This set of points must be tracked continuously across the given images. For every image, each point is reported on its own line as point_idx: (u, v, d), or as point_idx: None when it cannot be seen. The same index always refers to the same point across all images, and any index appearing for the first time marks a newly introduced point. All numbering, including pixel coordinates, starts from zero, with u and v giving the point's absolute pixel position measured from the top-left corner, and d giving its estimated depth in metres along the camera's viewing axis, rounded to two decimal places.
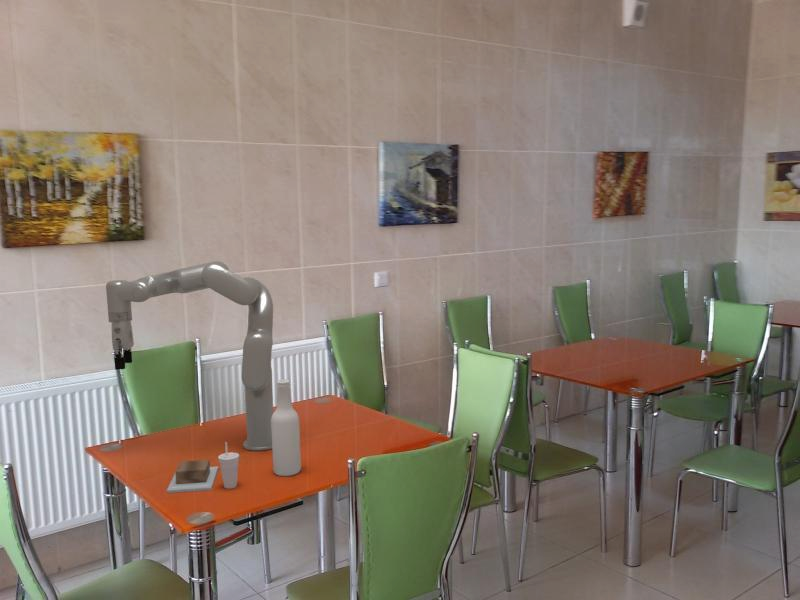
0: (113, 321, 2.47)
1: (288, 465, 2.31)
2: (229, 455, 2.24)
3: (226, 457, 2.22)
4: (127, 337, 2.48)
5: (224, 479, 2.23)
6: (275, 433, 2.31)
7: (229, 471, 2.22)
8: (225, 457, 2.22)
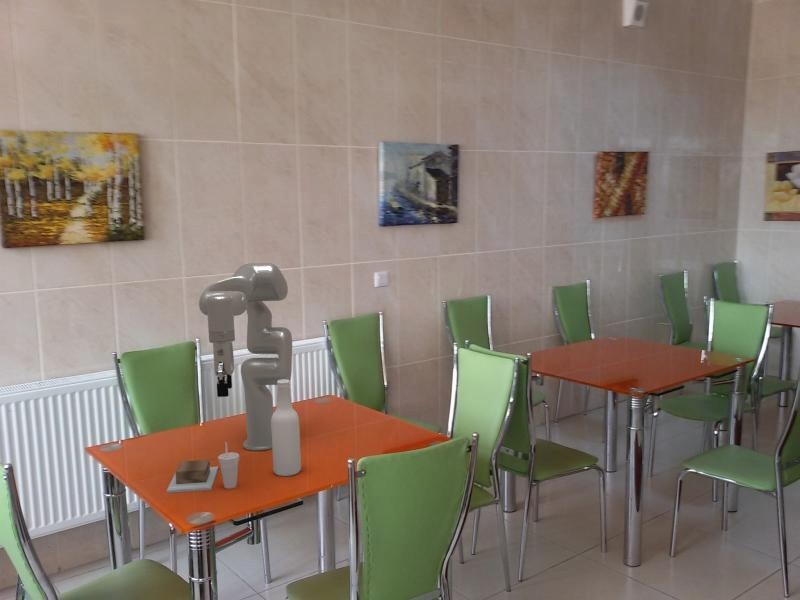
0: (215, 341, 2.15)
1: (288, 465, 2.31)
2: (229, 455, 2.24)
3: (226, 457, 2.22)
4: (231, 360, 2.17)
5: (224, 479, 2.23)
6: (275, 433, 2.31)
7: (229, 471, 2.22)
8: (225, 457, 2.22)
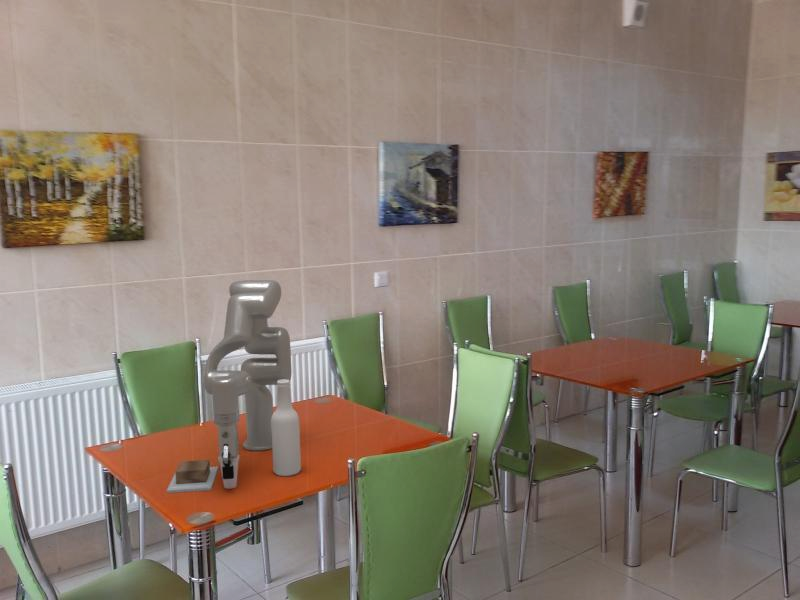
0: (220, 424, 2.19)
1: (288, 465, 2.31)
2: (229, 455, 2.24)
3: None
4: (235, 442, 2.20)
5: (224, 479, 2.23)
6: (275, 433, 2.31)
7: None
8: None
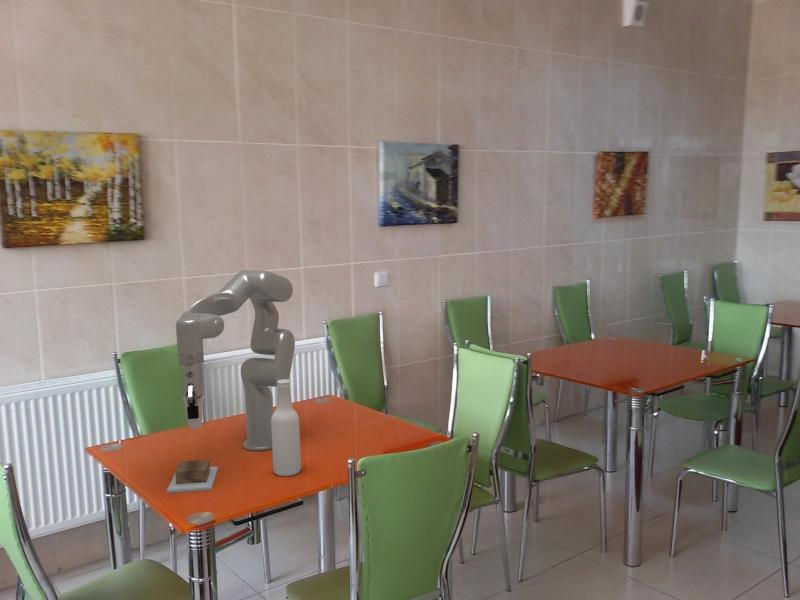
0: (184, 364, 2.21)
1: (288, 465, 2.31)
2: None
3: None
4: (200, 382, 2.22)
5: (189, 419, 2.25)
6: (275, 433, 2.31)
7: None
8: None
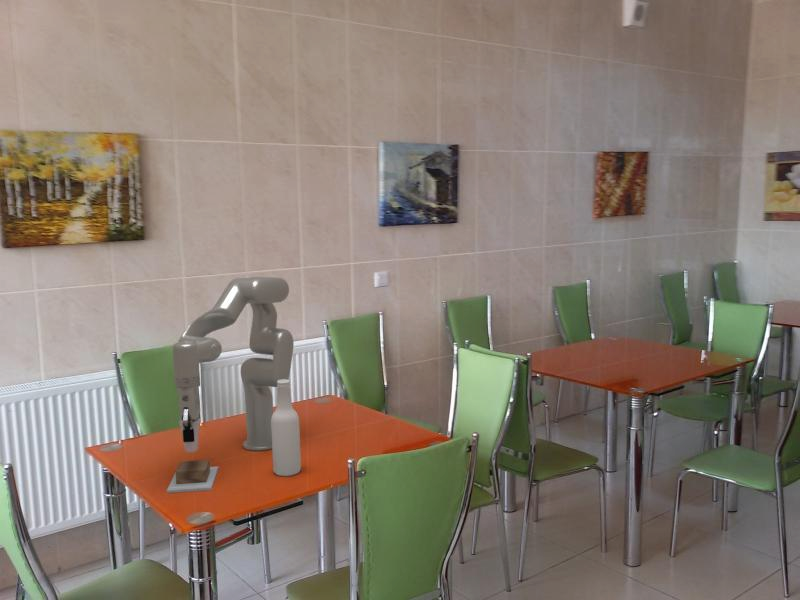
0: (181, 388, 2.23)
1: (288, 465, 2.31)
2: None
3: None
4: (196, 405, 2.24)
5: (185, 442, 2.27)
6: (275, 433, 2.31)
7: None
8: None
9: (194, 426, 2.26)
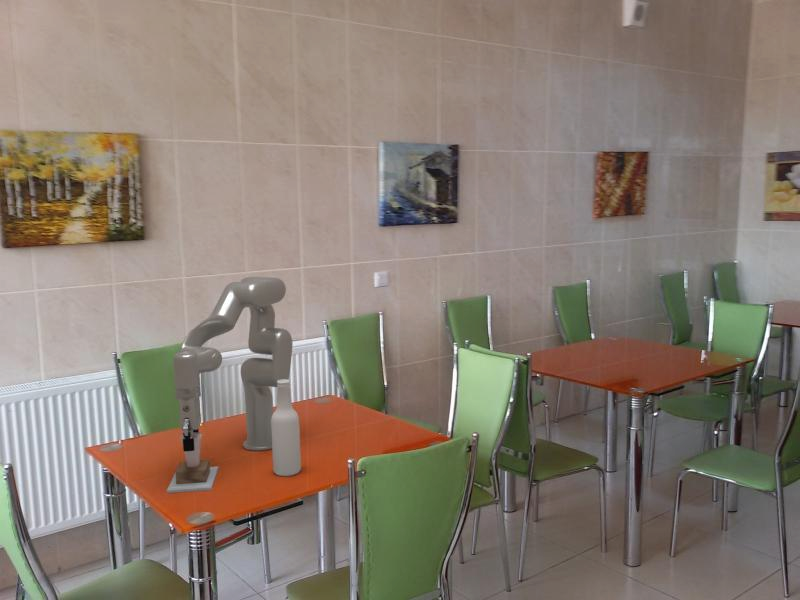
0: (181, 398, 2.23)
1: (288, 465, 2.31)
2: None
3: None
4: (196, 416, 2.25)
5: (187, 458, 2.28)
6: (275, 433, 2.31)
7: None
8: None
9: (196, 441, 2.27)
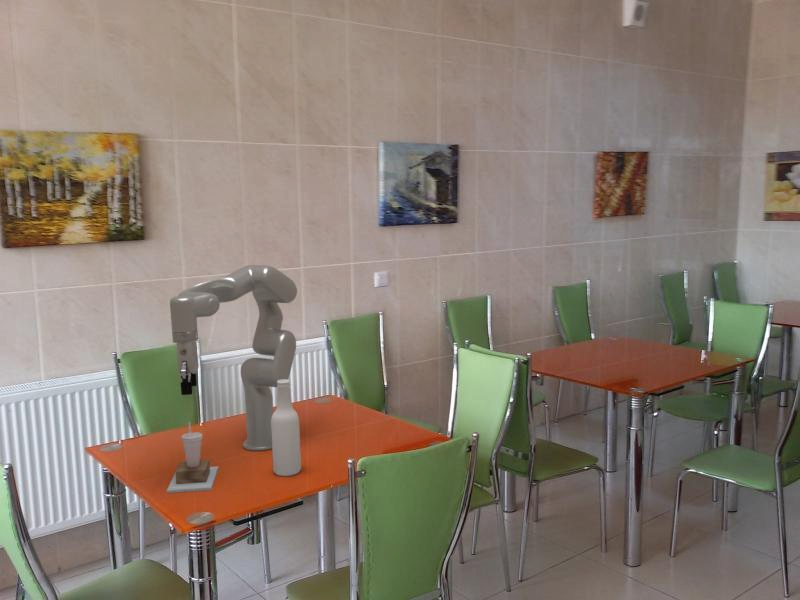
0: (179, 342, 2.23)
1: (288, 465, 2.31)
2: (192, 434, 2.29)
3: (189, 436, 2.27)
4: (194, 359, 2.24)
5: (187, 458, 2.28)
6: (275, 433, 2.31)
7: (191, 450, 2.27)
8: (188, 436, 2.27)
9: (197, 441, 2.27)
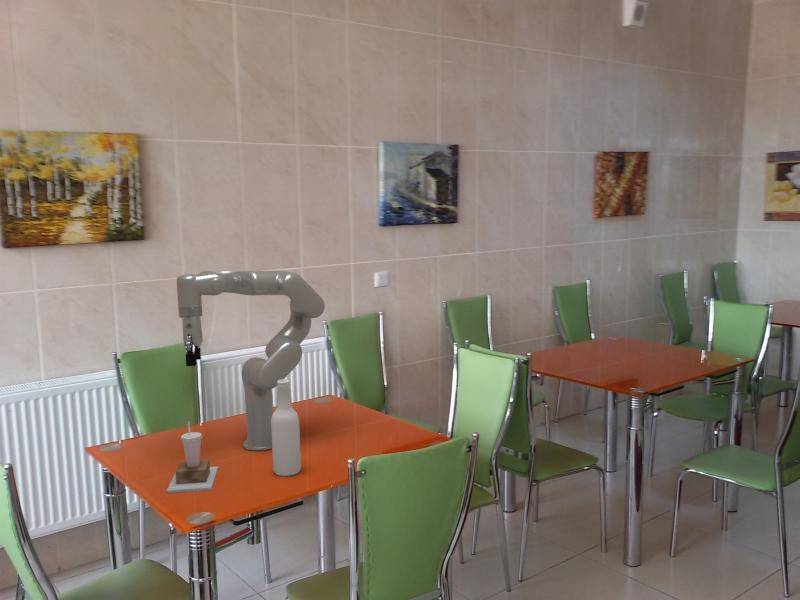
0: (184, 316, 2.40)
1: (288, 465, 2.31)
2: (192, 434, 2.29)
3: (189, 436, 2.27)
4: (198, 333, 2.41)
5: (187, 458, 2.28)
6: (275, 433, 2.31)
7: (191, 450, 2.27)
8: (188, 436, 2.27)
9: (196, 441, 2.27)
